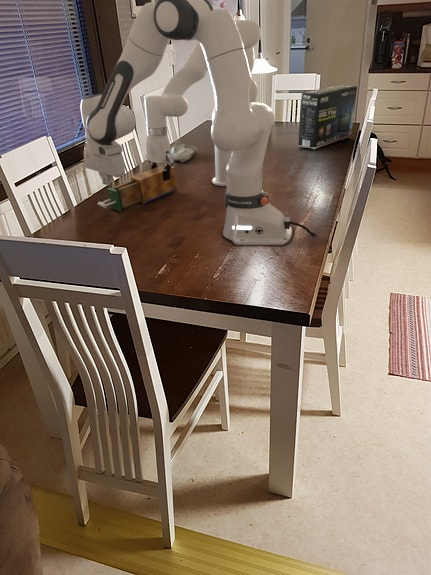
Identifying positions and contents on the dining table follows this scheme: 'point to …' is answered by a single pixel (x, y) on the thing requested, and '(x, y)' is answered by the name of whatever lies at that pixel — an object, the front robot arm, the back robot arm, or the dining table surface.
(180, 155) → the fossil
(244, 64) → the front robot arm
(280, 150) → the dining table surface
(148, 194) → the cabinet
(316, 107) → the router box
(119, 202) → the drawer
